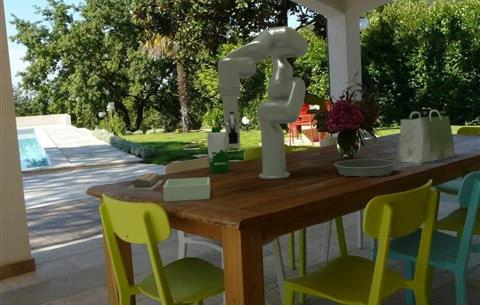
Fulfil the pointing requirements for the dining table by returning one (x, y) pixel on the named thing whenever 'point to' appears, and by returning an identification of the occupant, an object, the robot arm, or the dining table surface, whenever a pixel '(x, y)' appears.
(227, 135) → the cream block
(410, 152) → the grocery bag
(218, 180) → the dining table surface
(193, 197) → the sage bin
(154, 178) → the packaged product
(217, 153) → the milk carton
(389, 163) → the cake pan
